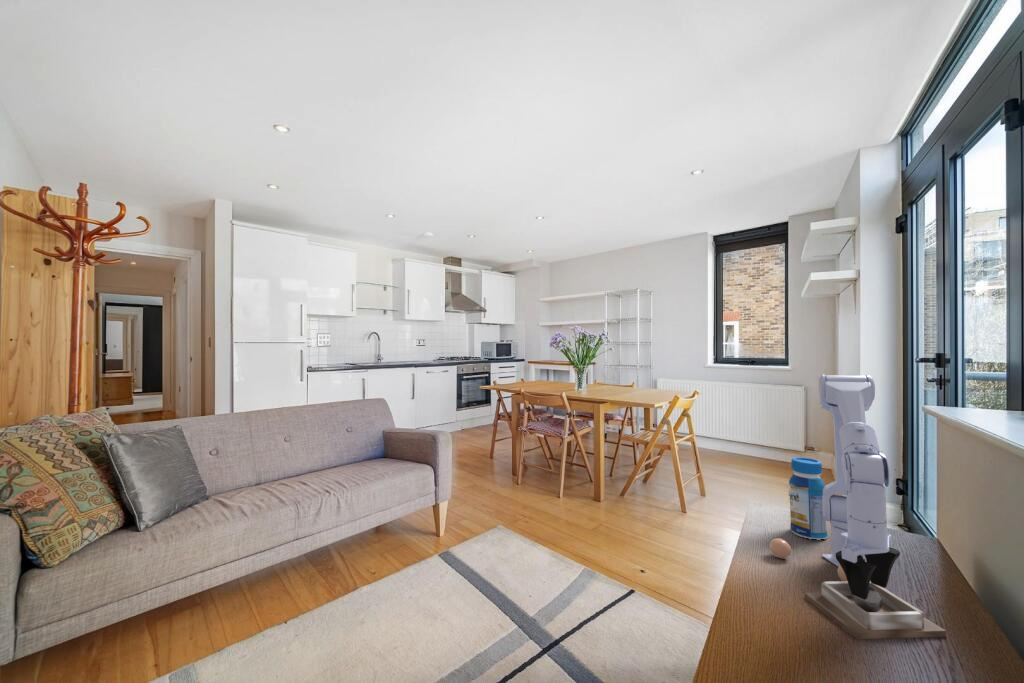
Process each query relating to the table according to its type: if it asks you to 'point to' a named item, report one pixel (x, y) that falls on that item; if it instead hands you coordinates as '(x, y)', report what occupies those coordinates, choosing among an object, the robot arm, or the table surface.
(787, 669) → the table surface
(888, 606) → the holder board
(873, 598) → the steel ball
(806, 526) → the beverage bottle
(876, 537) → the robot arm
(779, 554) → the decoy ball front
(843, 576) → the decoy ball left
